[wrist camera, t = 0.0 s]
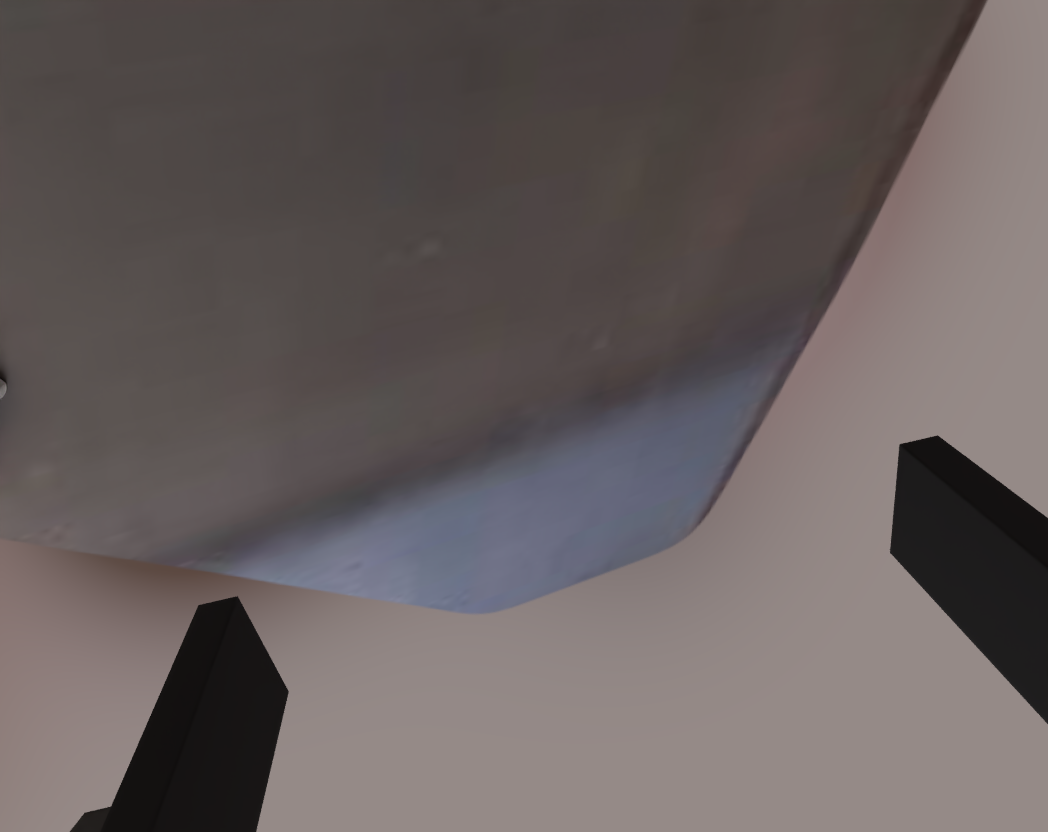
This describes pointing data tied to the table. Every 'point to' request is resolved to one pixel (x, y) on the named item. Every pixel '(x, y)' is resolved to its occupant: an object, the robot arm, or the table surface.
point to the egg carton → (2, 388)
